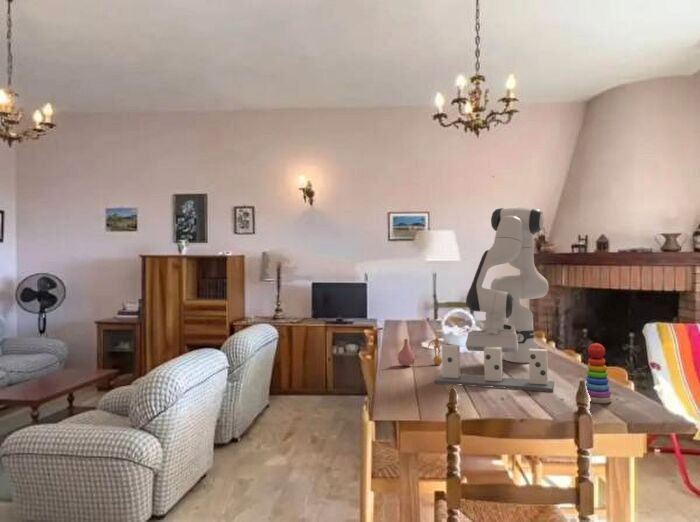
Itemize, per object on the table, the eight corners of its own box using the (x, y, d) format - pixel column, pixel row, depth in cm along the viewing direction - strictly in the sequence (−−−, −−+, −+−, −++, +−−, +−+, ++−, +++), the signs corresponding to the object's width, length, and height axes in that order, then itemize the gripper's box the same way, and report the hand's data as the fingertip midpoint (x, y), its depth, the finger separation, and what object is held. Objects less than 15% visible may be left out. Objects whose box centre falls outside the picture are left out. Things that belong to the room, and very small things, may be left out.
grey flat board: (442, 376, 206) (442, 373, 206) (554, 384, 189) (554, 381, 189) (434, 383, 196) (434, 380, 196) (552, 392, 178) (552, 388, 178)
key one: (445, 375, 202) (444, 344, 202) (460, 376, 200) (459, 345, 200) (442, 377, 199) (441, 346, 199) (457, 378, 196) (457, 347, 196)
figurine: (428, 365, 228) (428, 338, 228) (427, 363, 234) (427, 336, 234) (447, 365, 227) (447, 338, 227) (446, 362, 233) (445, 336, 233)
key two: (486, 377, 196) (485, 346, 196) (502, 379, 193) (501, 347, 193) (484, 380, 192) (483, 348, 192) (501, 381, 190) (500, 349, 190)
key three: (530, 380, 189) (529, 348, 189) (548, 382, 187) (547, 349, 187) (529, 383, 185) (528, 350, 185) (547, 384, 183) (546, 351, 183)
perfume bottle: (394, 365, 230) (394, 339, 230) (408, 363, 234) (408, 337, 234) (404, 368, 223) (403, 341, 223) (418, 366, 227) (417, 339, 227)
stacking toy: (581, 397, 170) (579, 341, 170) (606, 397, 170) (604, 341, 170) (589, 404, 163) (588, 345, 163) (616, 404, 162) (614, 345, 162)
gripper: (467, 325, 211) (461, 352, 203) (518, 326, 202) (514, 355, 193) (470, 335, 215) (464, 362, 206) (520, 336, 206) (517, 365, 197)
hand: (489, 359), depth 200 cm, fingers closed
